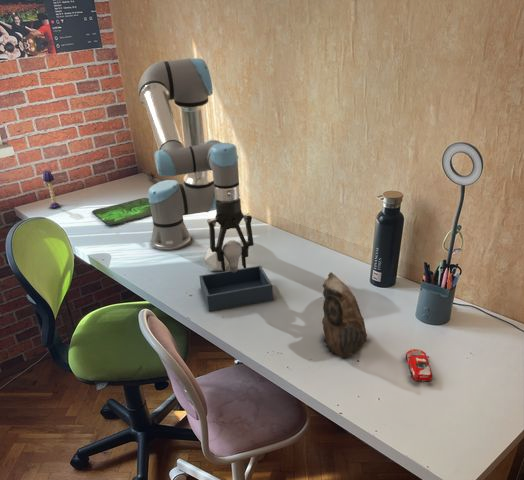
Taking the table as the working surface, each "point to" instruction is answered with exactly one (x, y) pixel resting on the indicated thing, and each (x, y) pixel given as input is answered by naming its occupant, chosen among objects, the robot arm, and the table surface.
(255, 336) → the table surface
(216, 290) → the tote
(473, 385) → the table surface
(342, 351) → the owl
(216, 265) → the die
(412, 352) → the race car
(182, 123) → the robot arm
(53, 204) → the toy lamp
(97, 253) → the table surface
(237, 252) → the lightbulb
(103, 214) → the mouse mat
